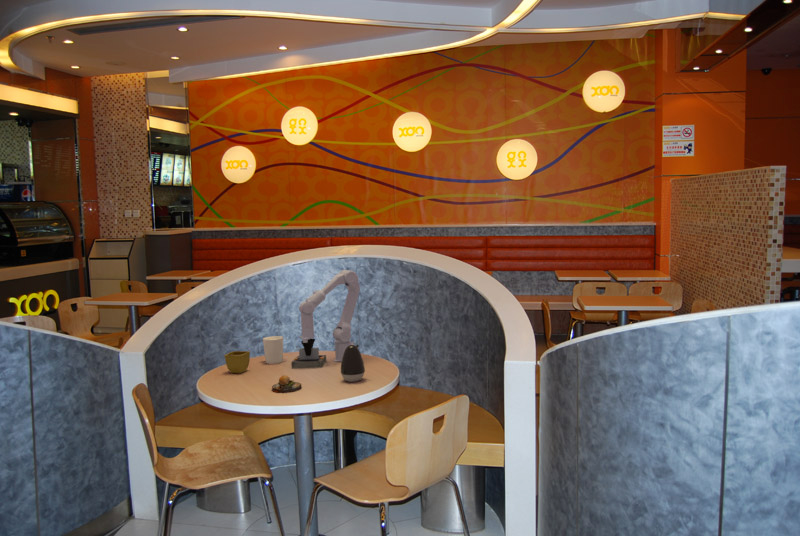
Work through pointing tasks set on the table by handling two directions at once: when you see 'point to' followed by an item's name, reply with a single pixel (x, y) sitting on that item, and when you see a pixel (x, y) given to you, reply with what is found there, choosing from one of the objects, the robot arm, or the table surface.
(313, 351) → the panel
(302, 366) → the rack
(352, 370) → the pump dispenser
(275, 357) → the candle holder
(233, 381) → the table surface
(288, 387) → the plate of food
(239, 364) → the flower pot
